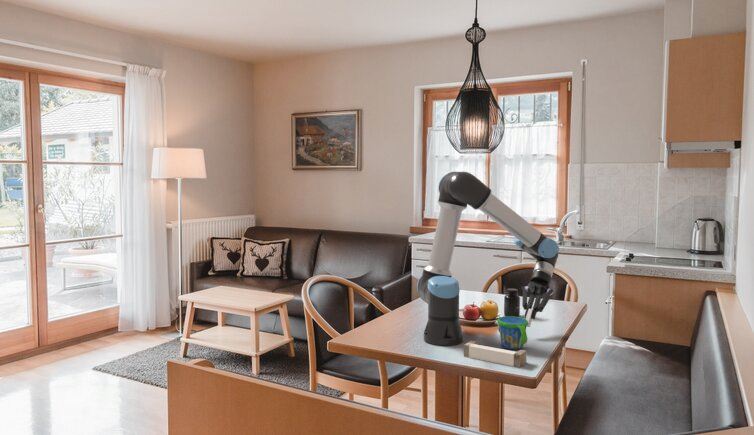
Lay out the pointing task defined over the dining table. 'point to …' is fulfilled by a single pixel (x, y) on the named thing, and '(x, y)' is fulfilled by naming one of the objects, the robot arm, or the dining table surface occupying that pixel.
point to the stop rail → (495, 354)
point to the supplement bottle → (512, 303)
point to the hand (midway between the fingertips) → (527, 325)
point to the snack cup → (512, 332)
